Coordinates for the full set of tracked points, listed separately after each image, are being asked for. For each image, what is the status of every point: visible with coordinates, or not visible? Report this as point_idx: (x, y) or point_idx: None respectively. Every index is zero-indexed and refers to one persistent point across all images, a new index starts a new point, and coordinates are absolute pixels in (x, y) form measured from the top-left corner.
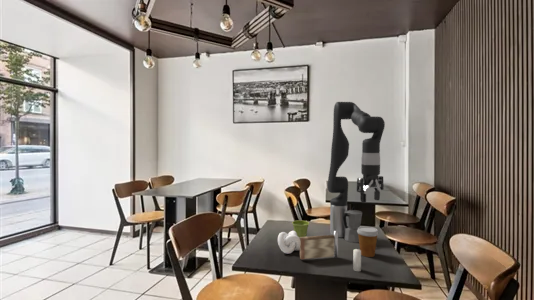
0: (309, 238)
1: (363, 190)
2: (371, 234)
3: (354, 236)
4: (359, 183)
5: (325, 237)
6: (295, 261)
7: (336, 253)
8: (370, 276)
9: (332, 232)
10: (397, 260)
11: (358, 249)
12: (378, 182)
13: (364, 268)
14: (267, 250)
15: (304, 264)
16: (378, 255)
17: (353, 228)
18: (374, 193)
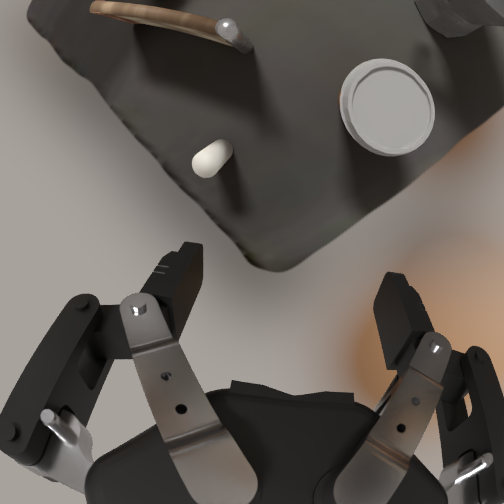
0: (116, 14)
1: (130, 358)
2: (361, 142)
3: (436, 17)
4: (49, 397)
5: (176, 24)
6: None
7: (239, 50)
8: (218, 197)
9: None
10: (386, 193)
11: (217, 161)
12: (471, 433)
13: (249, 157)
14: None
15: (125, 45)
16: None
17: (452, 6)
18: (404, 313)
